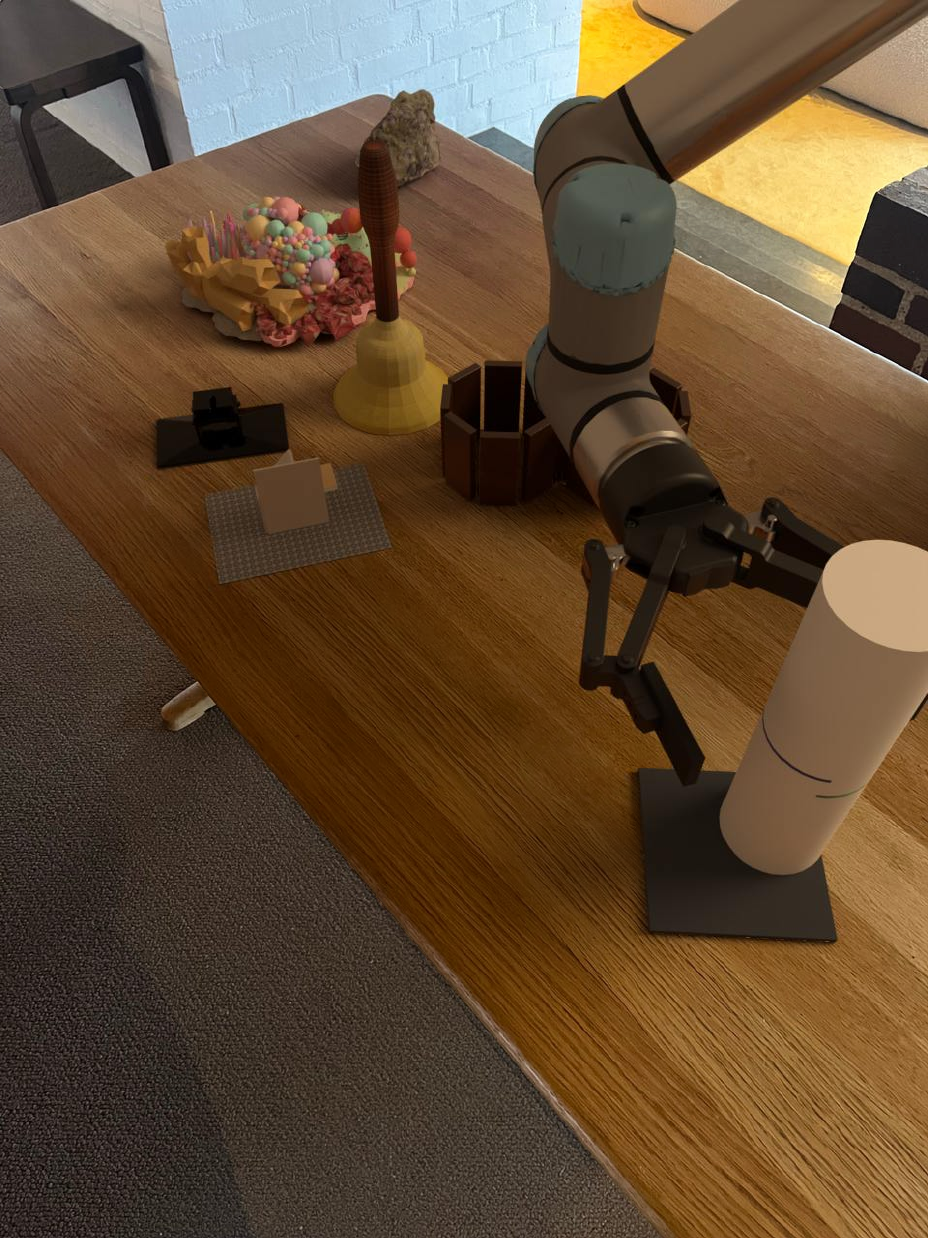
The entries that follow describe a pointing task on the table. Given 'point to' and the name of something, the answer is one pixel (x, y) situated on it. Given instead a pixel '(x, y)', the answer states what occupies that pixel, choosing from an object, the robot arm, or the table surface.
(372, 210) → the handbell
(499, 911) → the table surface
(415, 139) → the mineral rock
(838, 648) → the cylindrical container
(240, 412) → the build plate
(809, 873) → the mat
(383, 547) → the architectural model
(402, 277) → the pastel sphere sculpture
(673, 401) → the holder
